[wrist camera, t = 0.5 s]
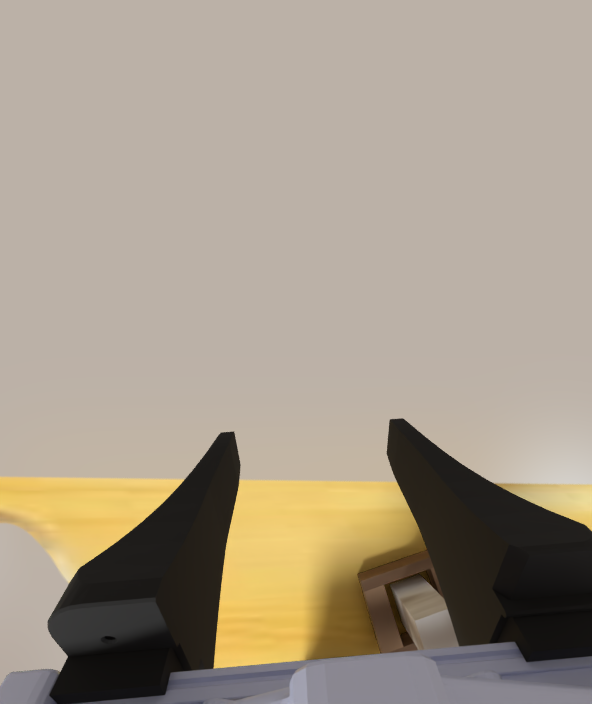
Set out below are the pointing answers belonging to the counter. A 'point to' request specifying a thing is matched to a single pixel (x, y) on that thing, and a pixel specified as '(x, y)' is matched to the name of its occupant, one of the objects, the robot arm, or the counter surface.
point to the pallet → (408, 606)
